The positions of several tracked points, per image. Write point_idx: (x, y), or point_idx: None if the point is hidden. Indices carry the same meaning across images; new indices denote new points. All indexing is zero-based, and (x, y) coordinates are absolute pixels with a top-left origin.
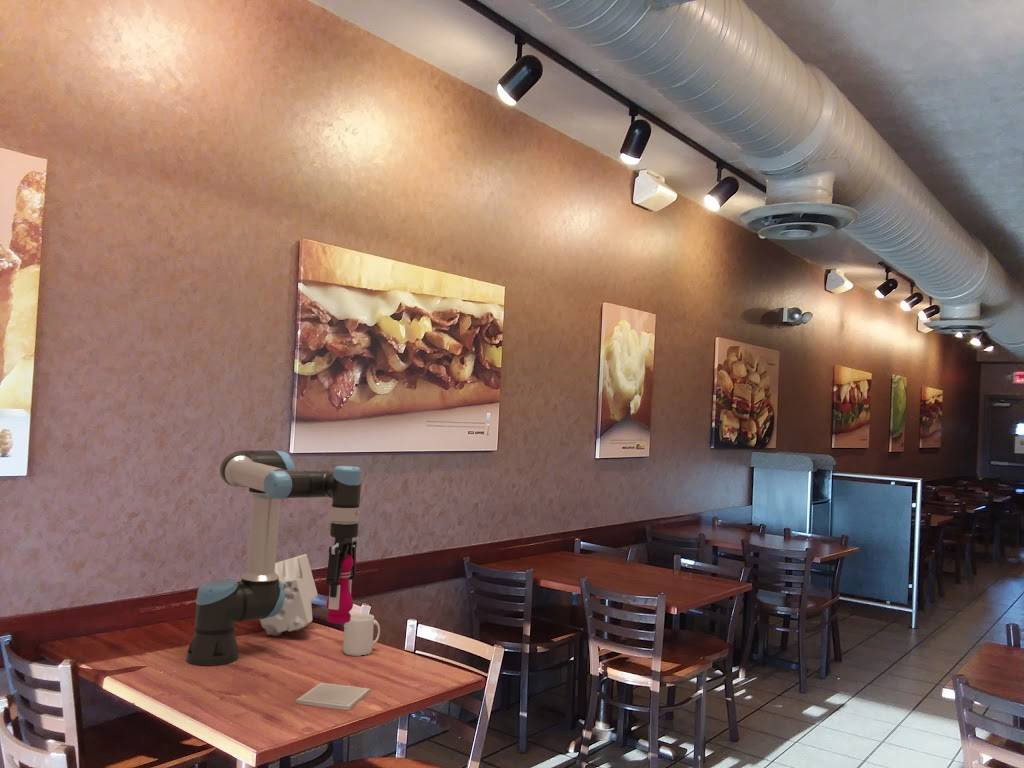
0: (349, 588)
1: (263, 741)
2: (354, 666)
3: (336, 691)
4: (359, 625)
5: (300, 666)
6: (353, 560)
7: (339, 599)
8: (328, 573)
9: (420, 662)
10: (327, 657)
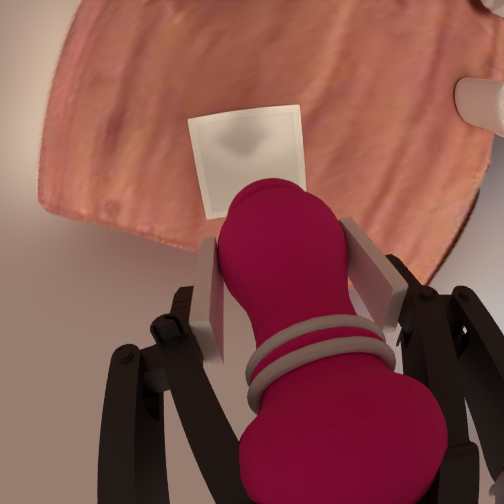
0: (364, 298)
1: (53, 188)
2: (416, 117)
3: (264, 159)
4: (493, 115)
5: (377, 26)
6: (470, 405)
7: (234, 297)
8: (109, 411)
9: (452, 210)
10: (434, 58)
